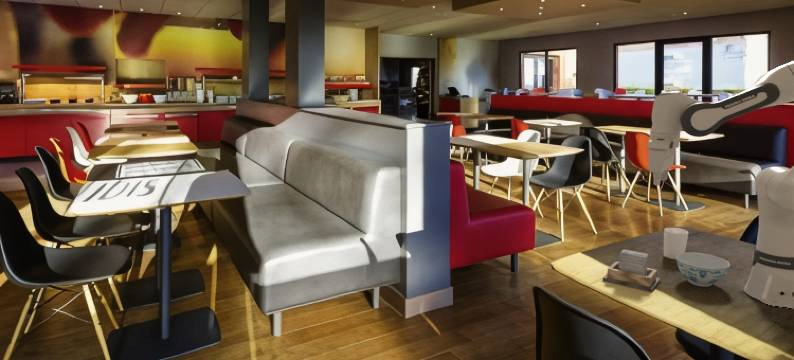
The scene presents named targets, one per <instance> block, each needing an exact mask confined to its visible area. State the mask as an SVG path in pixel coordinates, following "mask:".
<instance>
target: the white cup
mask: <svg viewBox="0 0 794 360" xmlns="http://www.w3.org/2000/svg"><path fill="white" fill-rule="evenodd" d="M663 229H664V230H663V257H664V258H667V259H672V260H676V256H677V255H678V254H681V253H686V249H687V244H688V237H689V231H688V230H687V229H683V228H680V227H679V228H678V227H665V228H663Z"/></svg>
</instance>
